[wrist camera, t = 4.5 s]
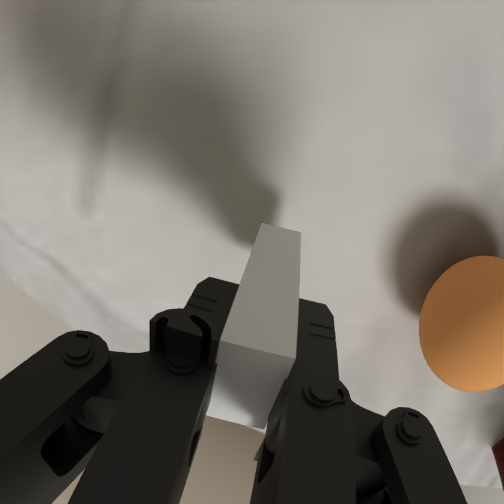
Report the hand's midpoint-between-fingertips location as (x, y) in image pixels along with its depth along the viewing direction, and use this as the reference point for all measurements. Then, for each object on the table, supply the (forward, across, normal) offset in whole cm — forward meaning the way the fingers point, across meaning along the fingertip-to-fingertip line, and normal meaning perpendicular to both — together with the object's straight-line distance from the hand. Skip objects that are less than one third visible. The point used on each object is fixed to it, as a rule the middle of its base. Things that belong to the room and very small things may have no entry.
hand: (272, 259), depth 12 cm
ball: (-1, +10, 0) cm, 10 cm away
